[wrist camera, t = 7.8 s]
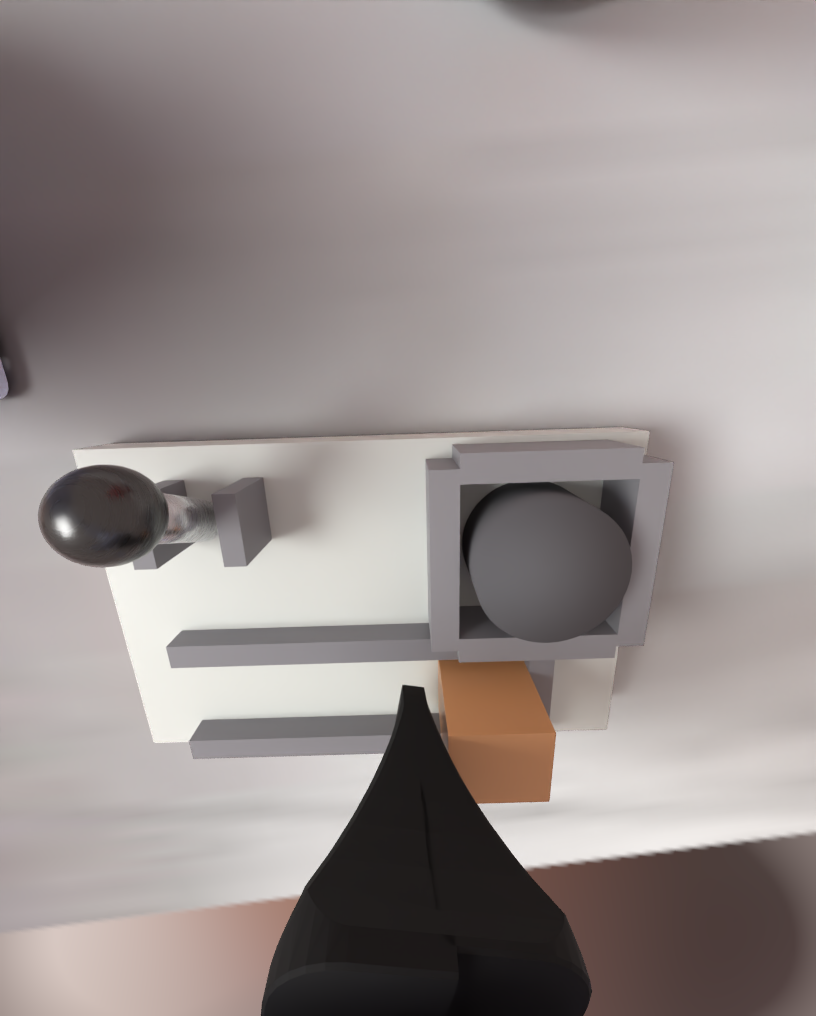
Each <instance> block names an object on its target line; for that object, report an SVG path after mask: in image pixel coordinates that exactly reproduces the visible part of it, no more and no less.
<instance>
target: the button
mask: <svg viewBox="0 0 816 1016" xmlns="http://www.w3.org/2000/svg"><path fill="white" fill-rule="evenodd" d="M462 552H463V557H464V560H465V563H466V566H467V569H468V571H469V574H470V577H471V580H472V583H473V585H474V588H475V591H476V594H477V597H478V600H479V602H480V605H481V607H482V609H483V610H484V612H485V614H486V615H487V616H488V618H489V619H490V620H491V621H492V622H493V623H494V624H495V625H496V626H497V627H499V628H500V629H501V630H503V631H504V632H506V633H508V634H509V635H511V636H514V637H516V638H519V639H522V640H526V641H530V642H537V643H552V642H560V641H565V640H569V639H572V638H575V637H578V636H580V635H583V634H585V633H587V632H589V631H590V630H592V629H594V628H595V627H597V626H598V625H599V624H601V623H602V622H603V621H604V620H606V619H607V618H608V617H609V616H610V615H611V614H612V613H613V611H614V610H615V609H616V608H617V606H618V605H619V604H620V602H621V601H622V599H623V597H624V595H625V593H626V591H627V588H628V585H629V583H630V578H631V574H632V554H631V549H630V545H629V543H628V540H627V538H626V536H625V534H624V532H623V531H622V529H621V528H620V526H619V525H618V524H617V523H616V522H615V521H614V520H613V519H612V518H611V517H610V516H609V515H607V514H606V513H604V512H603V511H601V510H600V509H598V508H596V507H595V506H593V505H591V504H590V503H588V502H586V501H585V500H583V499H581V498H580V497H578V496H576V495H574V494H573V493H571V492H569V491H568V490H566V489H564V488H563V487H561V486H559V485H557V484H554V483H551V482H528V483H507V484H504V485H502V486H500V487H498V488H496V489H494V490H493V491H491V492H490V493H488V494H487V495H486V496H485V497H484V498H483V499H481V500H480V502H479V503H478V504H477V505H476V506H475V507H474V509H473V510H472V512H471V513H470V515H469V517H468V519H467V521H466V524H465V527H464V531H463V535H462Z"/></svg>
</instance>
